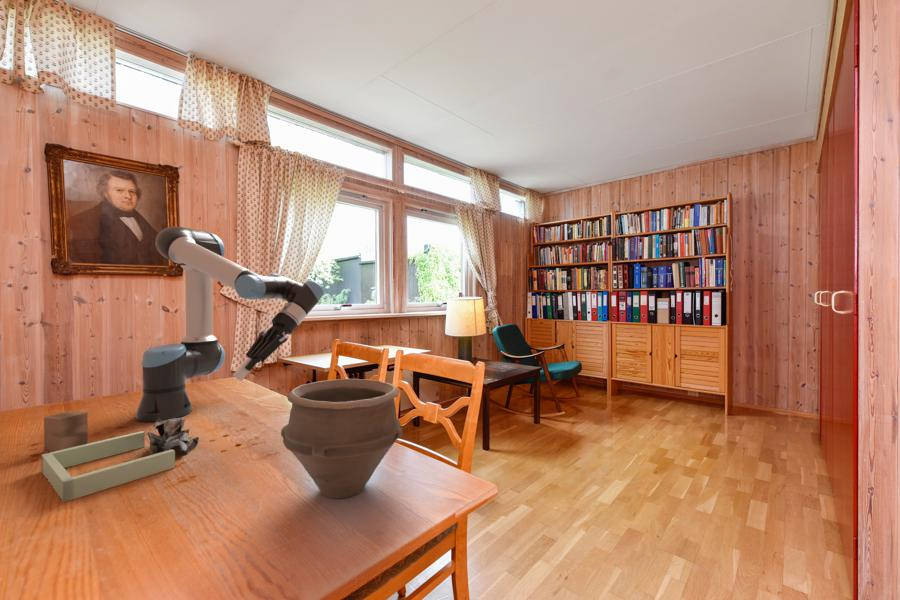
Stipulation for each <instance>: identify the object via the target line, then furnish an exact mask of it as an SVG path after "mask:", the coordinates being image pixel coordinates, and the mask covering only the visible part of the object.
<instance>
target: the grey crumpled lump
mask: <svg viewBox="0 0 900 600" xmlns="http://www.w3.org/2000/svg"><path fill="white" fill-rule="evenodd" d="M154 422H155V423H154V424H153V425H151V423H150V422H148V423H147V424H148V425H149V427H148V428H149V429H148V431H147V433H146V436H148V439H149V449H150V452H149V453H150V455H153V454H157V453H161V452H164V451H168V450H171V449H172V448H173V449H175V447H178V446H179V448H180V452H182V454H187V455H188V454H190V453H191V452H192V451H193V450H194V448H195V447H197V445H198V443H199V441H200V438H199V437H193V435H192V436H190V437H189V432H190V428H188V429H184V425H185V422H186V418H184V417H178V418H177V417H173V416H171V417H170V419H168V420H163V421H162V420H160V417H159V418H158V420H157V421H154ZM150 425H151V427H150ZM154 427H155V430H156V431H157V433H158V434H155V433H154V432H151V431H152V428H154ZM183 429H184V430H183ZM191 434H192V431H191Z"/></svg>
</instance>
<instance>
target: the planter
mask: <svg viewBox="0 0 900 600" xmlns="http://www.w3.org/2000/svg"><path fill="white" fill-rule="evenodd" d="M399 391H400V390H399V388H397V386H396V385H393V384H392V383H388V382H384V381H380V380H375V379H365V378H363V379H360V378H339V379H329V380H328V379H327V380H320V381H315V382H310V383H306V384H305V383H304V384H301V385H298V386H297V387H295V388H293V389H291V391H289V393H288V394H287V396H286V397H287V401H288V402H290V403H291V409H290V411H289V419H288V424H286V425H284V426H283V427H282V428H281V430H280V431H281V432H280V435H281V437H282V443H283V445H284V447H285V448H286V449H287V450H289V452H291V453H292V454H293V455H294V457H296V459H297V460H298V461H299V463H300V464H301V465H302V466H303V468H304V470H305V471H306V472H307V474H308V475H309V476H310V478H311V479H312V480H313V482H314V483H315V485H316V486H317V488H318V490H319V492H320V493H321V494H322V495H323V496H324V497H326V498H329V499H338V500H339V499H346V498H351V497H354V496H356V495H357V494H359V493H361V492H362V491H363V489H364V488H365V486H366V485H367V484H368V482H369V480H370V479H371V477H372V476H373V474H374V472H375V471H376V469H377V468H378V466H380V463H381V462H382V461H383V459H384V457H385V456H386V455H387V453H388V452H389V451H390V449H391V448H392V447H393V446H394V444H395V443H396V441H397V440H398V439H400V438H401V437H402V435H403V434H404V433H403V432H404V430H403V428H401V422H400V420H399V419H398V418H397V412H396V411H397V408H396V403H395V398H397V397H398V396H399V393H400V392H399Z"/></svg>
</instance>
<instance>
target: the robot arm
mask: <svg viewBox="0 0 900 600" xmlns="http://www.w3.org/2000/svg"><path fill="white" fill-rule="evenodd" d="M154 243H155V248H156V250H157V251H158V253H159V254H160V255H161V256H162V257H164V258H165V259H168V261H171V262H173V263H176V264H180V265H179V266H180V267H181V268H182V269H183V270H184V271H185V277H184V278H185V336H184V337H183V338H182V339H181V340H180V343H169V344H160V345H156V346H153V347H150V348H148V349H146V350H145V351H144V352H143V355H142V362H141V366H142V396H141V399H140V402H139V404H138V407H137V410H136V412H135V418H136V421H138V422H148V423H150V422H151V423H153V422H156V421H157V420H158V418H159V417H160V420H162V421H165V420H168V419H170V417H171V416H173V417H177V418H183V417H184V416H186V415H189V414H190V413H192V411H193V410H192V407H193V405H192V402H191V400H190V398H189V395H188V393H187V390H186V380H189V379H192V378H196V377H202V376H207V375H209V374H212V373H215V372H217V371H218V370H219V369H221V368H222V366H223V364H224V363H225V360H226V359H225V358H226V351H225V349H224V348H223V346H222V344H220V343H218V338H217V337H216V336H215V334H214V280H215V281H218V282H219V283H221V284H223V285H225V286H228V287H229V288H232V289H233V290H235V293H237V295H238V297H240V298H242V299H245V300H246V299H247V300H254V301H255V300H263V299H264V300H265V299H267V300H268V299H269V300H270V299H271V300H274V299H276V300H277V299H279V300H283V301H286V302H285V304H284V305H283V307H282V308H281V309H280V311H279V312H277V313H276V315H275V316H274V317H273V318H272V319H271V324H272V326H271V327H270V328H268V329H267V331H266V332H264V331H260V332H259V335H258V336H257V338H256V339H255V341H254V342H253V344H252V345H251V346H250V348H249V349H248V350H247V351H246V353H245V356H246V359H245V360H244V362H243V363H242V364H241V365H240V366H239V367H238V368H237V369H236V371H234V373H233V374H232V376H233V377H234V378H236V379H237V380H238V381H240V382H242V381H243V380H244V379H245V377H246V376H248V374H249V373H250V372H251V371H252V370H253V368H254V367H255V366H256V365H257V364H259V363H260V362H262V363H263V362H265V361H266V360H267V359H268V358H269V357H270V356H272V354H273V353H275V351H276V350H277V349H278V348H280V347H281V345H283V344H285V342H287V341H288V338H287V335H291V334H293V332H295V330H296V329H297V328H298V326H299V325H301V323H302V322H303V321H304V319H306V318H307V316H308V314H309V313H310V312H311V311H312V309H313V308H315V306H316V305H317V304H318V303H319V302H320V300H321V299H322V297H323V296H324V294H325V291H324V289H323V287H322V286H321V284H320V283H318V282H317V281H315V280H313V279H312V280H309V279H308V280H306V281H305V282H304V283H301V282H297V281H295V280H293V279H290V278H288V277H286V276H285V275H281V274H277V273H276V272H275V273H274V272H273V273H270V274H268V275H260V274H258V273H256V272H254V271H252V270H250V269H248V268H246V267H244V266H242V265H240V264H239V263H236V262H234V261H232V260H229V259H228V258H225V253H226V252H225V251H226V249H225V244H224V242H223V241H222V239H221V238H220V237H219V236H218V235H217V234H215V233H212V232H209V231H207V230H201V229H200V230H199V229H194V228H189V227H182V226H168V227H166V228H163V229H162V230H160V232H158V233H157V235H156V236H155V242H154Z"/></svg>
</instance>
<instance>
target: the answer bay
mask: <svg viewBox="0 0 900 600" xmlns="http://www.w3.org/2000/svg"><path fill="white" fill-rule="evenodd" d="M145 433H146V431H143V430H141V431H137V432H132V433H128V434H123V435H120V436H115V437H110V438H107V439H103V440H98V441H94V442H90V443H89V442H88V444H85V445H80V446H76V447H72V448H68V449H63V450H59V451H55V452H46V453H43V454H41V473H42V475H43V476H44V475H45V476H44V477H45V478H47V479H48V480H47V479H46V480H47V481H48V483H49V482H50V483H51V484H50V483H49V484H50V486H51V485H52V486H53V487H52V486H51V487H52V488H53V490H54V489H55V490H54V491H55V492H57V493H58V494H57V493H56V494H57V495H58V497H59V496H60V497H59V498H60V500H61V499H62V500H61V501H62V503H66V502H69V501H72V499H73V500H76V499H79V498H82V497H85V496H89V495H91V494H94V493H98V492H100V491H101V492H102V491H104V490H107V489H110V488H113V487H114V488H115V487H117V486H120V485H123V484H126V483H129V482H133V481H135V480H139V479H142V478H145V477H149V476H153V475H155V474H158V473H159V474H160V473H161V472H165V471H168V470H171V469H174V468H175V467H176V451H175V449H174V448H173V449H172V448H171V449H170V450H168V451H164V452H161V453H157V454H153V455H151V454H150V455H145V456H143V457H140V458H135V459H133V460H130V461H125V462H121V463H118V464H115V465H111V466H107V467H103V468H100V469H96V470H94V471H90V472H86V473H82V474H79V475H76V476H71V474H70V473H69V472H68V470H66V468H69V467H73V466H77V465H82V464H85V463H88V462H92V461H97V460H99V459H105V458H107V457H112V456H115V455H118V454H122V453H127V452H130V451H134V450H139V449H141V448H145V447H146V444H145V442H146V441H145V440H146V439H145Z"/></svg>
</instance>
